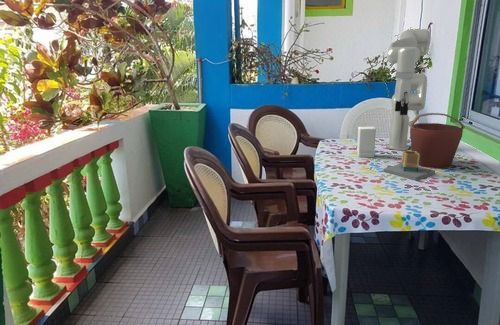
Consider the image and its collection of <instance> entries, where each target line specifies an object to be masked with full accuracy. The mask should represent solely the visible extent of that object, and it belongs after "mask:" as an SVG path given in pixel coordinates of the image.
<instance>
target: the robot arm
mask: <svg viewBox="0 0 500 325" xmlns="http://www.w3.org/2000/svg"><path fill="white" fill-rule="evenodd" d="M431 40H432V36H431V32H430V30H429V29H426V28H422V29H421V28H420V29H419V28H418V29H417V28H415V29H406V30H404V31H403V32H401V34H400V37H399V39H397V40H395V41H393V42H392V43H391V44H389V47H388V51H387V58H386V59H387V62H388V63H390V64H396V72H395V80H396V81H395V88H394V94H393V95H392V97H391V120H390V122H391V123H390V132H389V141H388V142H389V143H388V144H386V145H385V147H386V148H387V149H389V150H395V151H409V149H410V146H409V145H408V144H411V139H408V138H409V137H408V135H409V129H410V126H409V124H408V123H409V122H410V116H409V111H416V112H417V111H418V112H419V111H423V110H424V109H425V106H426V100H427V91H428V90H427V87H428V77H427V74H425V73H415V68H416V67H415V66H416V63H417V62H418V61H419V60H420V58H421V57H422V56H427V54H428V53H429V51H430V47H431V46H430V45H431ZM415 92H416V93H415Z"/></svg>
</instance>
